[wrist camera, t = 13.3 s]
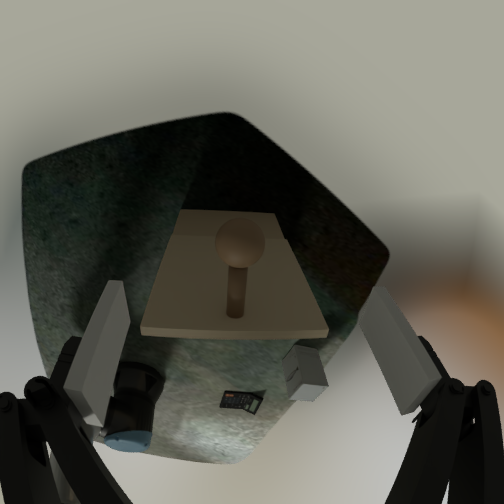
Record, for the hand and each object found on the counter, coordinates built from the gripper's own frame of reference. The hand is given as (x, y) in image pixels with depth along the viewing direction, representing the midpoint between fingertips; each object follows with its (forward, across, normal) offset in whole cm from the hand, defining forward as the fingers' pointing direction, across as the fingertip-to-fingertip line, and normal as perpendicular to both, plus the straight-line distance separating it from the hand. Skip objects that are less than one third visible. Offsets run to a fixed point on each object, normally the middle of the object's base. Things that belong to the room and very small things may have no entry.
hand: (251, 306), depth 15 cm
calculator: (+39, +6, -72) cm, 82 cm away
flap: (+17, 0, -10) cm, 19 cm away
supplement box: (+39, +20, -50) cm, 66 cm away
